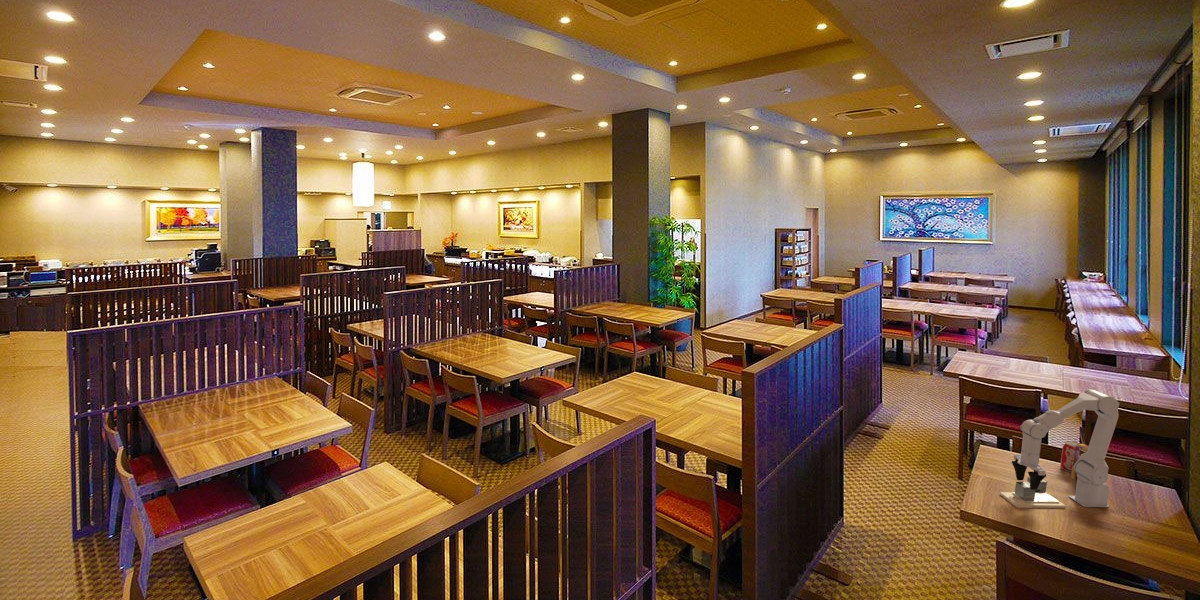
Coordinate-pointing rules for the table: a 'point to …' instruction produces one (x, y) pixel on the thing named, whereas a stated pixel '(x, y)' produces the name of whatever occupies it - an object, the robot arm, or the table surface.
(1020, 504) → the scale base
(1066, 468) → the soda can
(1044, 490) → the spacer
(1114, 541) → the table surface
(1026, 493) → the block
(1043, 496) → the white flat slab
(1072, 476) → the candy box
